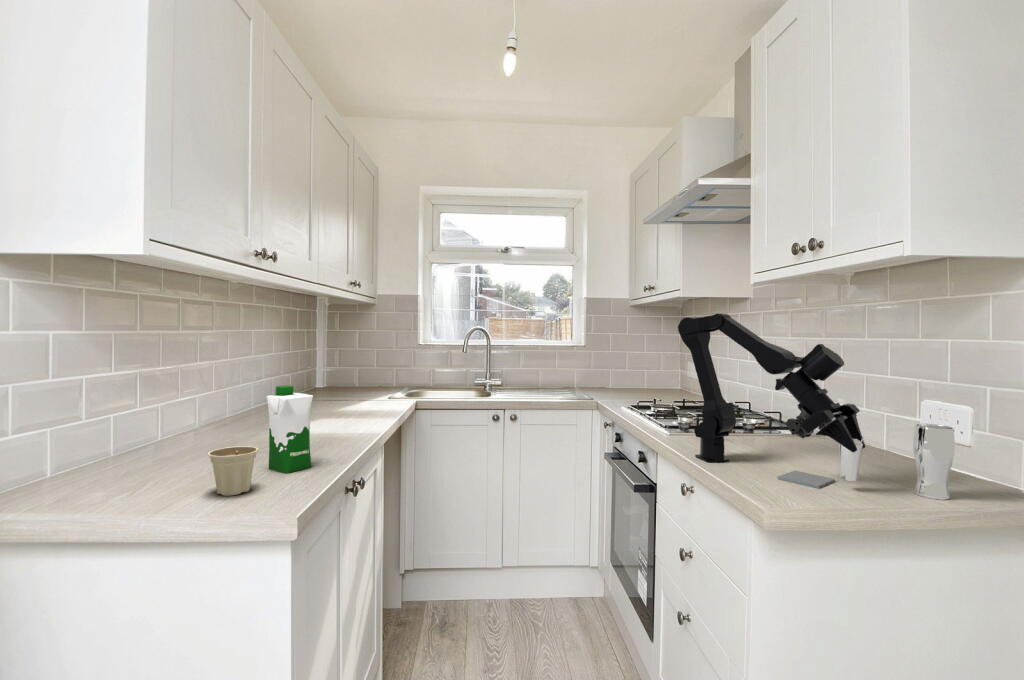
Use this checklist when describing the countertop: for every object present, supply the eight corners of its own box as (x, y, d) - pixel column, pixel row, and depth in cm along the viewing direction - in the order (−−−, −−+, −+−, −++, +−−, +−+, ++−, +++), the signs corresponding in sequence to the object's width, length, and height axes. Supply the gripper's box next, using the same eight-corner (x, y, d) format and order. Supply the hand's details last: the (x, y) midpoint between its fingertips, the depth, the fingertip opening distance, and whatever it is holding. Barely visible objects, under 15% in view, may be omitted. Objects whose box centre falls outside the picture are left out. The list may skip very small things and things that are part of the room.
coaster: (777, 479, 126) (777, 476, 126) (794, 472, 132) (794, 470, 132) (818, 488, 119) (818, 485, 119) (834, 481, 125) (834, 478, 125)
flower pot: (203, 490, 113) (203, 449, 113) (251, 482, 119) (251, 443, 119) (213, 501, 106) (213, 458, 106) (263, 492, 112) (263, 451, 112)
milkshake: (853, 484, 115) (855, 438, 114) (832, 476, 120) (833, 432, 119) (870, 482, 116) (871, 437, 115) (848, 475, 121) (850, 431, 121)
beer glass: (950, 494, 116) (953, 425, 116) (954, 502, 110) (957, 430, 110) (911, 488, 120) (913, 422, 120) (912, 496, 114) (915, 426, 114)
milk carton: (294, 461, 137) (294, 384, 136) (317, 467, 132) (317, 386, 132) (262, 469, 130) (262, 387, 129) (286, 475, 125) (285, 390, 124)
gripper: (799, 410, 135) (845, 463, 127) (763, 418, 124) (812, 476, 115) (834, 382, 129) (886, 436, 121) (800, 388, 117) (855, 447, 109)
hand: (859, 449), depth 117 cm, fingers closed on milkshake, 4 cm apart
